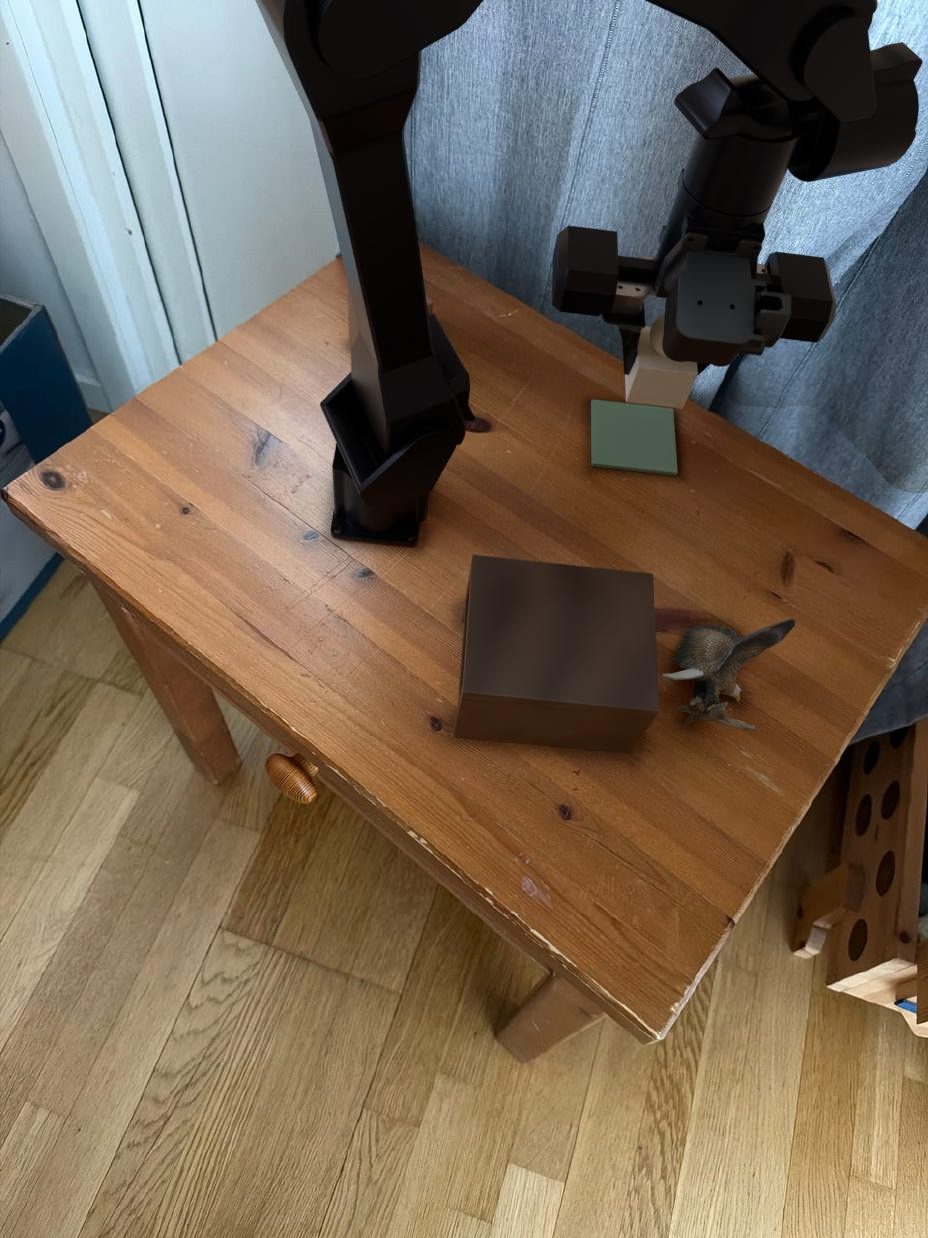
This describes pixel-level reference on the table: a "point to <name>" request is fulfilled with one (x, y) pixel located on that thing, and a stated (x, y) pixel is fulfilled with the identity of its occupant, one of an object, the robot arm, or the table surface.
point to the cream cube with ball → (658, 372)
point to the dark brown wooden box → (557, 655)
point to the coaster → (633, 437)
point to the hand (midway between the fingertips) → (656, 374)
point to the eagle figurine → (720, 666)
